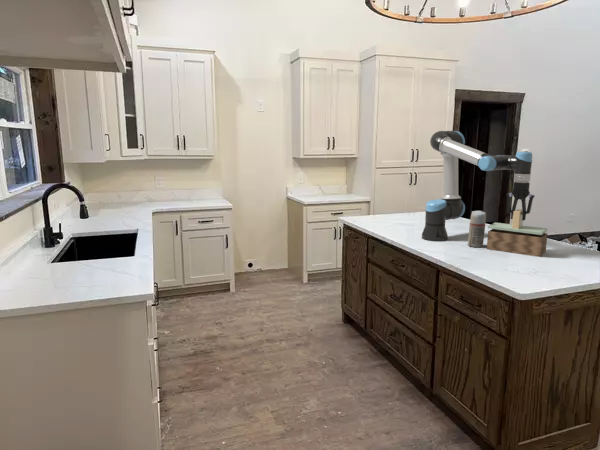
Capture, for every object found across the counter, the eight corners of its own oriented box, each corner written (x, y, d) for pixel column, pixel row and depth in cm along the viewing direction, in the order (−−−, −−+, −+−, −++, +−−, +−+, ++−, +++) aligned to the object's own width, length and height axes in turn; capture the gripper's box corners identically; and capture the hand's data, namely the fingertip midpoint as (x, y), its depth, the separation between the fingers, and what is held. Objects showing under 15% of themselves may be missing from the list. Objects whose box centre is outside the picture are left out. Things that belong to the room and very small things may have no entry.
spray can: (484, 245, 234) (487, 210, 230) (482, 248, 227) (485, 212, 223) (468, 243, 238) (471, 209, 235) (466, 246, 232) (468, 211, 228)
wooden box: (486, 249, 226) (488, 231, 224) (493, 244, 235) (495, 227, 233) (540, 256, 209) (542, 237, 207) (545, 251, 218) (547, 233, 216)
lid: (487, 228, 224) (489, 209, 222) (494, 224, 233) (496, 206, 231) (541, 234, 207) (544, 215, 205) (547, 230, 216) (549, 211, 214)
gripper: (503, 181, 217) (499, 225, 222) (537, 183, 207) (532, 228, 212) (507, 180, 223) (503, 222, 228) (540, 182, 212) (535, 226, 217)
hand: (517, 225), depth 220 cm, fingers closed on lid, 3 cm apart
